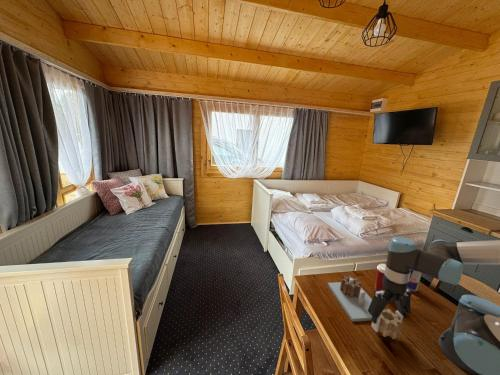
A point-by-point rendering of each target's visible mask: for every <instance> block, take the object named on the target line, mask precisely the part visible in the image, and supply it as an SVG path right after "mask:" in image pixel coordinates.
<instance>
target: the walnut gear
mask: <svg viewBox="0 0 500 375" xmlns="http://www.w3.org/2000/svg"><path fill="white" fill-rule="evenodd" d="M350 278H352V279H354V283H353V284H351V283H349V279H350ZM361 288H362V281H361V282H360V281H359V278H357V277H355V278H354V277H352V275H348V276H347V275H343V276H342V278H341V286H340V290H342V291H343V294H344V295H346V294H347V295H348V296H350V298H353V297H354V296H355V297H357V298H358V297H359V294H360V289H361Z"/></svg>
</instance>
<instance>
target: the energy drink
mask: <svg viewBox="0 0 500 375" xmlns="http://www.w3.org/2000/svg"><path fill="white" fill-rule="evenodd" d="M422 275H423V274H422V273H420V272H417V271H414V270H412V269H411V273H410V278H409V282H408V286H407V289H408V290H409V291H410V292H412V293H413V292H417V291H418V287H419V283H420V281H421V277H422Z"/></svg>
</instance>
